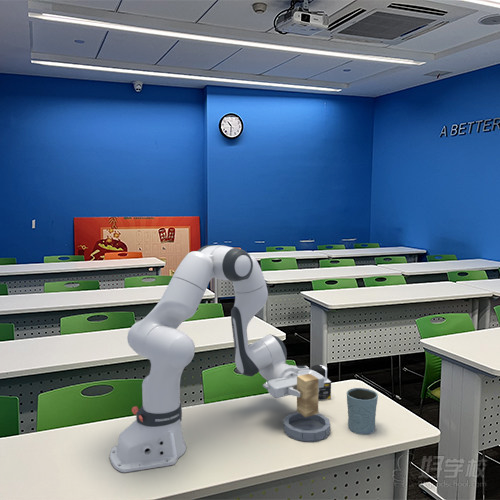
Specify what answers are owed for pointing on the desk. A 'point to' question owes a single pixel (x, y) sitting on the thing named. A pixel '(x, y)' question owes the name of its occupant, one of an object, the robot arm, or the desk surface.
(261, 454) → the desk surface
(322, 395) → the medicine bottle
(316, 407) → the oak block
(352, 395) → the blue-grey cup
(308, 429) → the bowl
